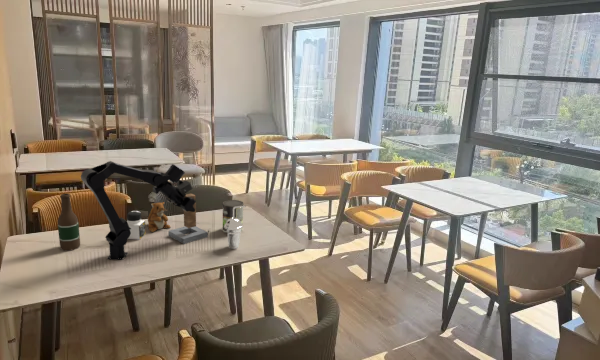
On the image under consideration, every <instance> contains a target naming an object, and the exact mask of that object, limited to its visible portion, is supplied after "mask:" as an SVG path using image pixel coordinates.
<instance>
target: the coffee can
mask: <svg viewBox="0 0 600 360" xmlns="http://www.w3.org/2000/svg"><path fill="white" fill-rule="evenodd" d="M244 204H245V203H244V202H243V201H242V200H239V199H229V200H224V201H223V202H222V203H221V205H222V232H223V233H226V234H227V232H226V229H225V228H224V225H225V224H226V222H227V221H228V219H230V218H233V207H236V206H245V205H244ZM234 217H235V218H238V219H239V220H240V221H241V223H242V224H244V207H242V208H235V209H234ZM243 231H244V227H243V228H242V229H241V233H242V232H243Z"/></svg>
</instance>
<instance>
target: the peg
mask: <svg viewBox="0 0 600 360" xmlns="http://www.w3.org/2000/svg"><path fill="white" fill-rule="evenodd" d="M185 194H186V196H185V197H184V198H186V197H192V198H193V199H195V200H196V199H197V196H196V195H195V194H194V193H185ZM193 207H194V209H195V212H191V211H188V212H187V211H185V210H183V227H184V226H186V227H187V228H191V227H195V226H196V227H197V200H196V202H195V204H194V205H193Z"/></svg>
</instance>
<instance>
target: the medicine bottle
mask: <svg viewBox="0 0 600 360" xmlns="http://www.w3.org/2000/svg"><path fill="white" fill-rule="evenodd" d="M126 217H127V220H126V221H127V222H128V225H129V227H130V228H131V229H130V232H131V234H130V236H129V238H128V240H138V241H139V240H141V239H142V238H143V237H145V235H146V220H145V219H142V212H141V211H138V210H132V211H128V212H127V214H126Z"/></svg>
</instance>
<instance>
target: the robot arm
mask: <svg viewBox="0 0 600 360" xmlns="http://www.w3.org/2000/svg"><path fill="white" fill-rule="evenodd" d="M113 174H118V175H122V176H127V177H129V178H134V179H138V180H140V181H144V182H145V183H148V184H150V185H152V193H154V194H156V195H158V194H159V193H161V194H162V195H163V196H164V197H165V201H166V202H168V203H170V204H172V205H173V206H176V207H179V208H180V209H181V210H183V211H184V210H185V211H187V212H188V211H191V212H195V209H194V207H193V205H194V204H195V202H196V203H197V200H195V199H193V198H192V197H186V198H184V197H185V196H186V194H188V193H189V192H190V191H191V190H193V186H192V184H191V182H189V181H187V180H181V178H182V177H183V176H184V175H185V174H186V172H185V171H184V170H183V169H181V168H180V167H178V166H177V165H176V164H173V163H172V164H171V165H170V166H169V168H168V169H167V170H166V172H162V171H161V172H159V171H157V170H153V169H140V168H139V169H138V168H136V167H131V166H127V165H124V164H120V163H118V162H117V163H116V162H114V161H111V160H109V161H106V162H105V163H103V164H99V165H97V166H93V167H92V168H87V169H85V170H83V171H82V172H81V175H80V179H81V181H82V182H83V183H84V184H85V186H86V187H87V188H88V189H89V190H90V191H91V192H92V194H93V196H94V197H95V198H96V200H97V203H98V204H99V206H100V208H101V209H102V212H103V214H104V215H105V217H106V219H107V220H108V228H109V230H110V231H108V233H107V234H106V235H105V239H106V242H108V248H109V255H108V256H107V257H106V260H116V261H117V260H121V261H122V260H124V259H125V258H126V256H127V255H128V254H129V252H127V251H125V245H127V244H128V240H129V239H128V238H129V236H130V234H131V232H130V229H131V228H130V227H129V225H128V221H127V220H126V219H124V218H123V217H120V216H119V215H118V212H117V210H116V209H115V207H114V205H113V203H112V202H111V199H110V197H109V196H108V194H107V192H106V189H105V183H104V181H105V180H107V179H108V178H109V177H111V176H112V175H113ZM174 183H175V184H176V186H175V185H173V184H174Z"/></svg>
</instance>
